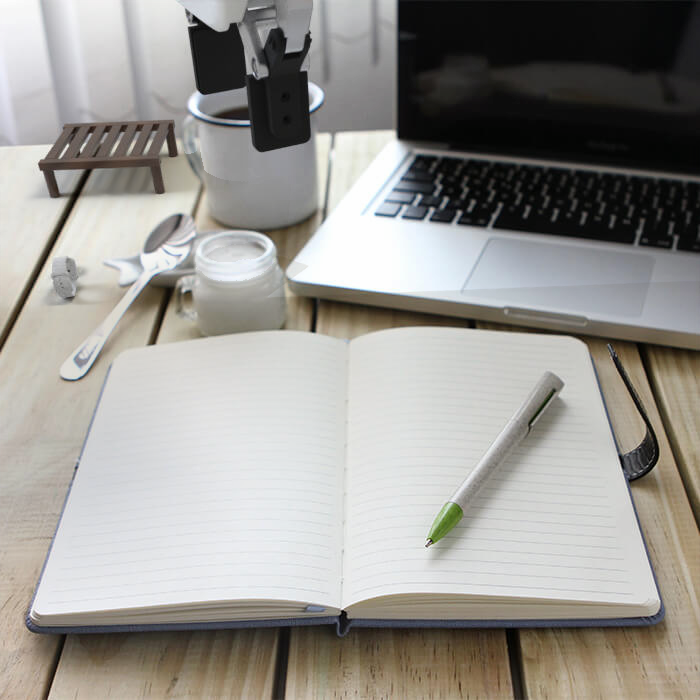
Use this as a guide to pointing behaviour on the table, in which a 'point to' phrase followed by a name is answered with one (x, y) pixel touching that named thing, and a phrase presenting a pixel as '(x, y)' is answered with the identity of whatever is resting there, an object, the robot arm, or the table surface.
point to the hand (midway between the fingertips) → (250, 115)
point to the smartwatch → (64, 276)
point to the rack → (109, 149)
